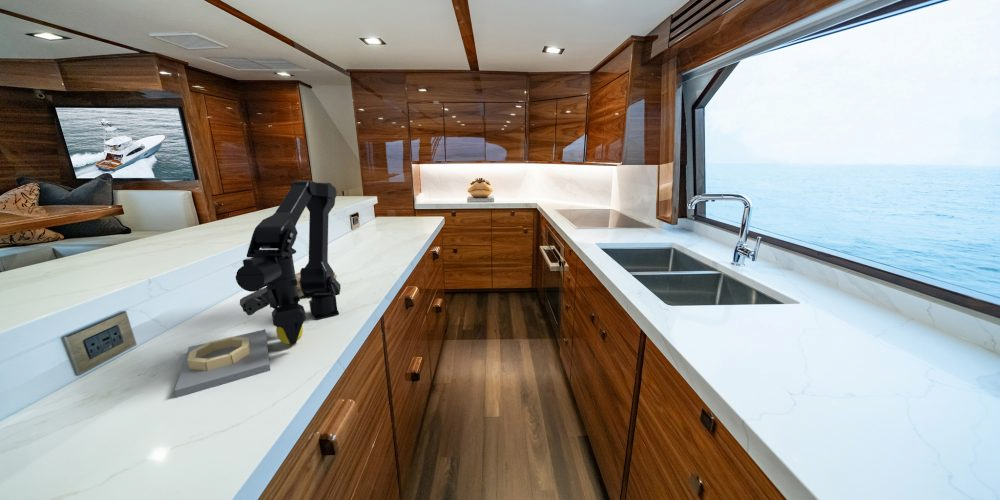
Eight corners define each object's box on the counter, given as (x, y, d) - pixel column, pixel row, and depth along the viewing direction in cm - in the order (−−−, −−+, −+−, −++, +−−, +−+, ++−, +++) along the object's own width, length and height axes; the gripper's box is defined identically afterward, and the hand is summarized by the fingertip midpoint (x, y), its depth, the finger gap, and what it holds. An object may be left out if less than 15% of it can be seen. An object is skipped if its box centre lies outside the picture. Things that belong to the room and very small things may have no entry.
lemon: (293, 351, 80) (288, 320, 78) (273, 348, 81) (268, 318, 79) (310, 340, 86) (305, 311, 84) (291, 337, 87) (286, 309, 85)
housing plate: (266, 334, 88) (264, 322, 88) (270, 370, 73) (267, 355, 72) (190, 352, 80) (187, 339, 79) (176, 397, 64) (172, 381, 63)
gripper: (239, 273, 82) (250, 331, 86) (237, 295, 67) (251, 364, 71) (292, 265, 88) (300, 319, 92) (301, 284, 74) (310, 348, 77)
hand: (291, 336), depth 83 cm, fingers open, 9 cm apart
